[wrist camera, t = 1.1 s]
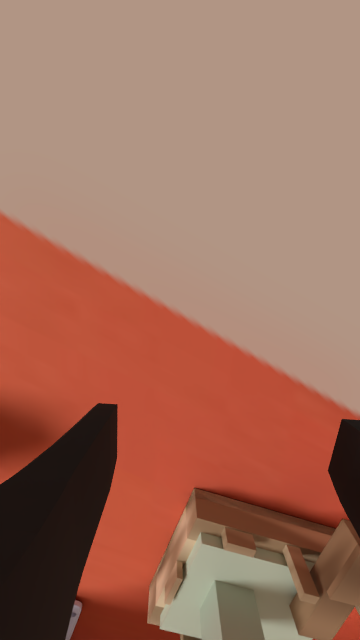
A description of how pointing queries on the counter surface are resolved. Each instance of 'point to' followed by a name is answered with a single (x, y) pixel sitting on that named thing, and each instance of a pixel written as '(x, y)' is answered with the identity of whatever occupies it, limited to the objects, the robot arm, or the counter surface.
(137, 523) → the counter surface
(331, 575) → the brown rectangular bar
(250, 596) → the lid
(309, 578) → the box
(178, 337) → the counter surface
